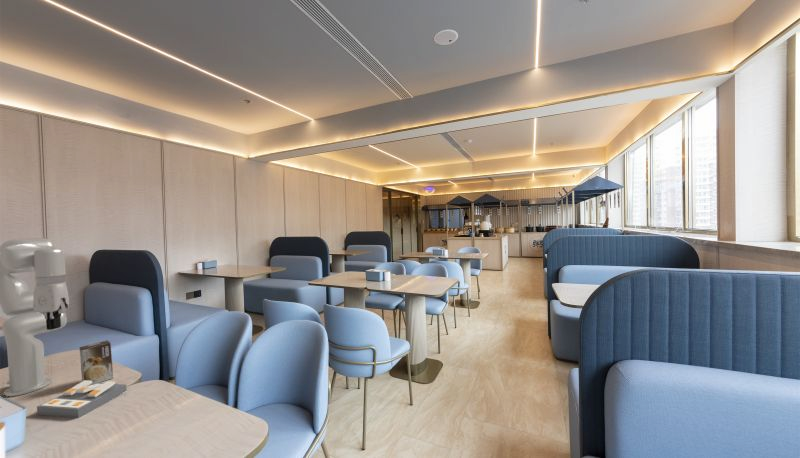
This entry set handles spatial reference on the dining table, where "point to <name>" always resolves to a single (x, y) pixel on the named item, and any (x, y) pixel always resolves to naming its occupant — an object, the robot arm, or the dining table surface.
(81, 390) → the rocker
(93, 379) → the coffee box
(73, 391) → the rocker
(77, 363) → the dining table surface
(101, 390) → the rocker
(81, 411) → the switch unit
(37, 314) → the robot arm
